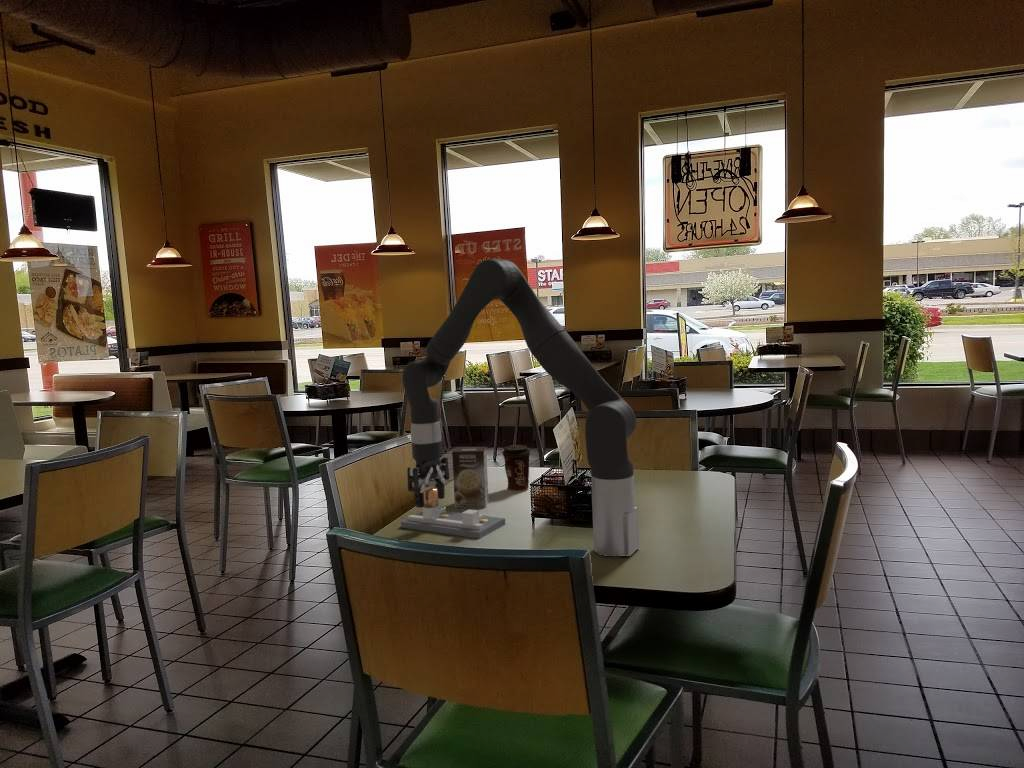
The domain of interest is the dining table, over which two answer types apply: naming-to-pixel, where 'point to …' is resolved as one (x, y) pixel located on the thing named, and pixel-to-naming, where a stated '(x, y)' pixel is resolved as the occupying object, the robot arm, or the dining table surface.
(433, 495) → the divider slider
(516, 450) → the coffee cup
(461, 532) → the plate
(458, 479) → the coffee box
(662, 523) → the dining table surface
